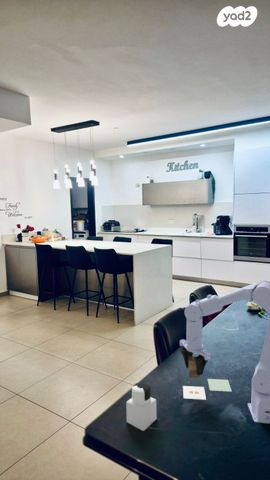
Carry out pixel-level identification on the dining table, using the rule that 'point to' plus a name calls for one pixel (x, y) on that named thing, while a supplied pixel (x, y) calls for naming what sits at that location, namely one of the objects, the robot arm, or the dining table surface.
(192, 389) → the white tile
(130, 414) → the medicine bottle
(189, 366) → the walnut block
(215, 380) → the sage mat
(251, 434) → the dining table surface
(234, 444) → the dining table surface
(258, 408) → the robot arm
